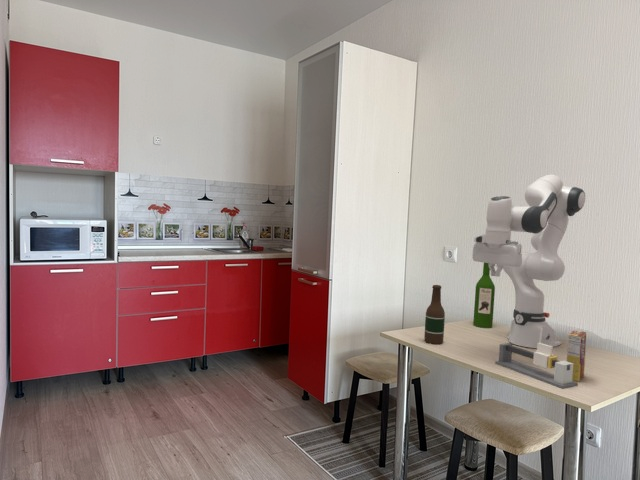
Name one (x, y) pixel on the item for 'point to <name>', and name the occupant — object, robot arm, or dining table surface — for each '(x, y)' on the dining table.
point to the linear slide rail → (559, 378)
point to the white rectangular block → (542, 355)
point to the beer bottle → (435, 318)
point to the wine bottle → (484, 300)
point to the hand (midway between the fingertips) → (495, 276)
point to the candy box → (577, 353)
